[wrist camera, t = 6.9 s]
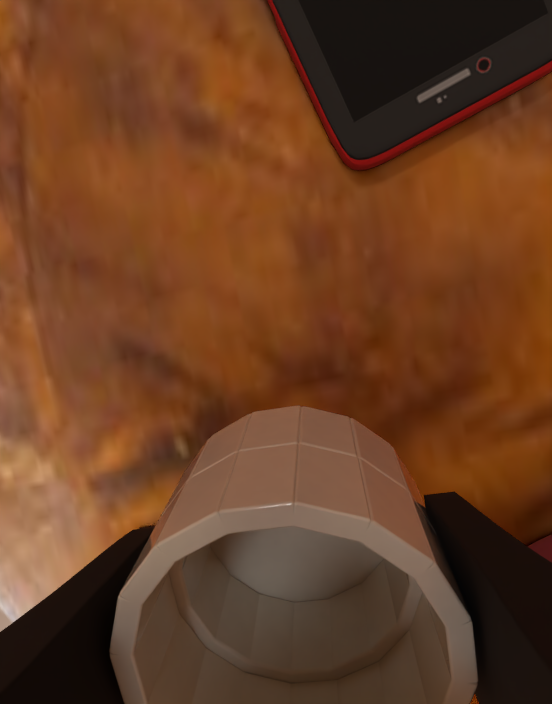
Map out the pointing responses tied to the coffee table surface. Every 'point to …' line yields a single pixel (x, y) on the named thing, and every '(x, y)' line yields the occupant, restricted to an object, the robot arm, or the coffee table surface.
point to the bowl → (294, 577)
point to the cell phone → (410, 65)
